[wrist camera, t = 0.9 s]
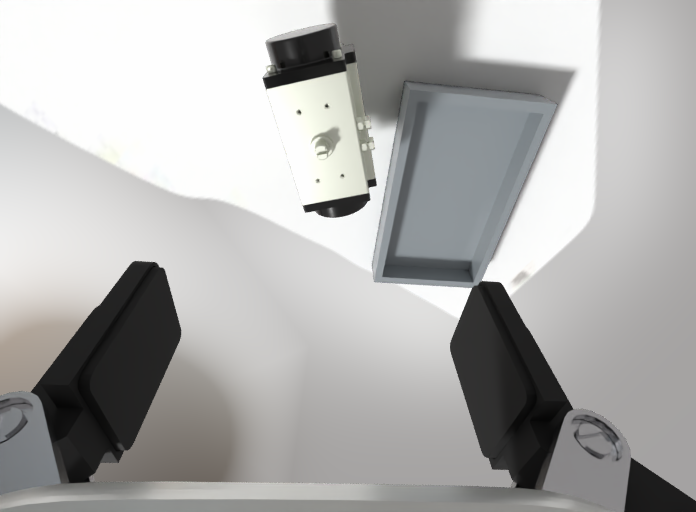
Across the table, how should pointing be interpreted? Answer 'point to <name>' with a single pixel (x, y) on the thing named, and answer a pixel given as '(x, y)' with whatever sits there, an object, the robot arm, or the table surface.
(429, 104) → the parts tray
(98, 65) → the table surface
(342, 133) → the pneumatic valve
